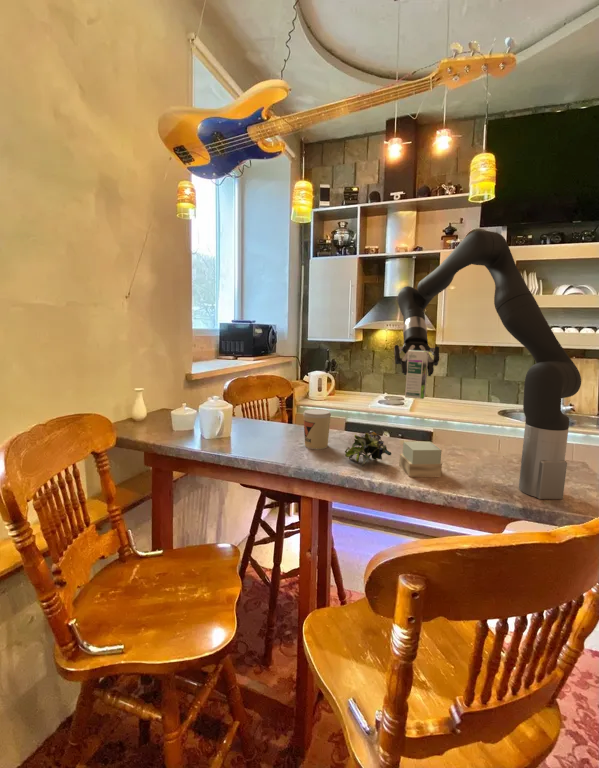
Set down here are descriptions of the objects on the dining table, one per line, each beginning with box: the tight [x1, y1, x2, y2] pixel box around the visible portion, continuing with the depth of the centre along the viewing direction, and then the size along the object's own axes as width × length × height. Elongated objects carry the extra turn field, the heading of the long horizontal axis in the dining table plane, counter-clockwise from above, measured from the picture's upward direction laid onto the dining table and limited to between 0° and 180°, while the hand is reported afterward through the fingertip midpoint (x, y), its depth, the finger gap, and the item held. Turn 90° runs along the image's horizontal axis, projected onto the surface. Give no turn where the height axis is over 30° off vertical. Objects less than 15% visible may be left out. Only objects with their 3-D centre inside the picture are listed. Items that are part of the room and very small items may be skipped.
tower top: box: [402, 441, 443, 464], centre depth 115 cm, size 8×8×4 cm
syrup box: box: [404, 350, 430, 400], centre depth 126 cm, size 6×6×14 cm
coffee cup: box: [302, 408, 332, 450], centre depth 138 cm, size 9×9×12 cm
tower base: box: [398, 453, 443, 478], centre depth 116 cm, size 9×9×4 cm
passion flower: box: [344, 432, 392, 467], centre depth 122 cm, size 11×11×12 cm
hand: (417, 373), depth 124 cm, fingers closed on syrup box, 6 cm apart
